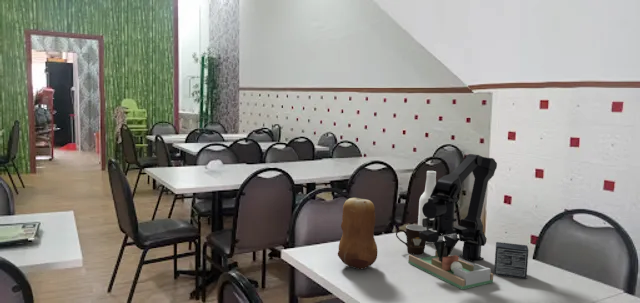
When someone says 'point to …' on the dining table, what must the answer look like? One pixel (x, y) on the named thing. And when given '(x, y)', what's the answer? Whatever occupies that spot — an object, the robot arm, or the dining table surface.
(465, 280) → the tray
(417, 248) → the coffee mug
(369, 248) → the butternut squash
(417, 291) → the dining table surface
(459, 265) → the ball
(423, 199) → the alcohol
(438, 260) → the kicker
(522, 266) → the small box
